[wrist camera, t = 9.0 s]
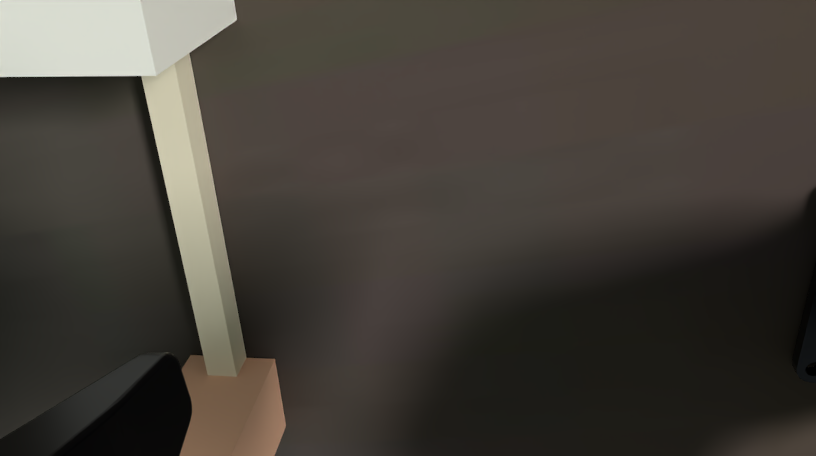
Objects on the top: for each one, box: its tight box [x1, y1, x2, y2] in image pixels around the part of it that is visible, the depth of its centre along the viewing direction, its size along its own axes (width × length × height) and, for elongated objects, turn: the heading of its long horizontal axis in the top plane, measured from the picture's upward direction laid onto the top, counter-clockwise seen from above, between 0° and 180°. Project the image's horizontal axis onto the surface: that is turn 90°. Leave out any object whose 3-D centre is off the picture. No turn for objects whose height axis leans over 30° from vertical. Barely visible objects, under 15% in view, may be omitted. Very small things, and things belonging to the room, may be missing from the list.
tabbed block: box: [0, 0, 286, 456], centre depth 20 cm, size 18×4×5 cm, turn 3°
